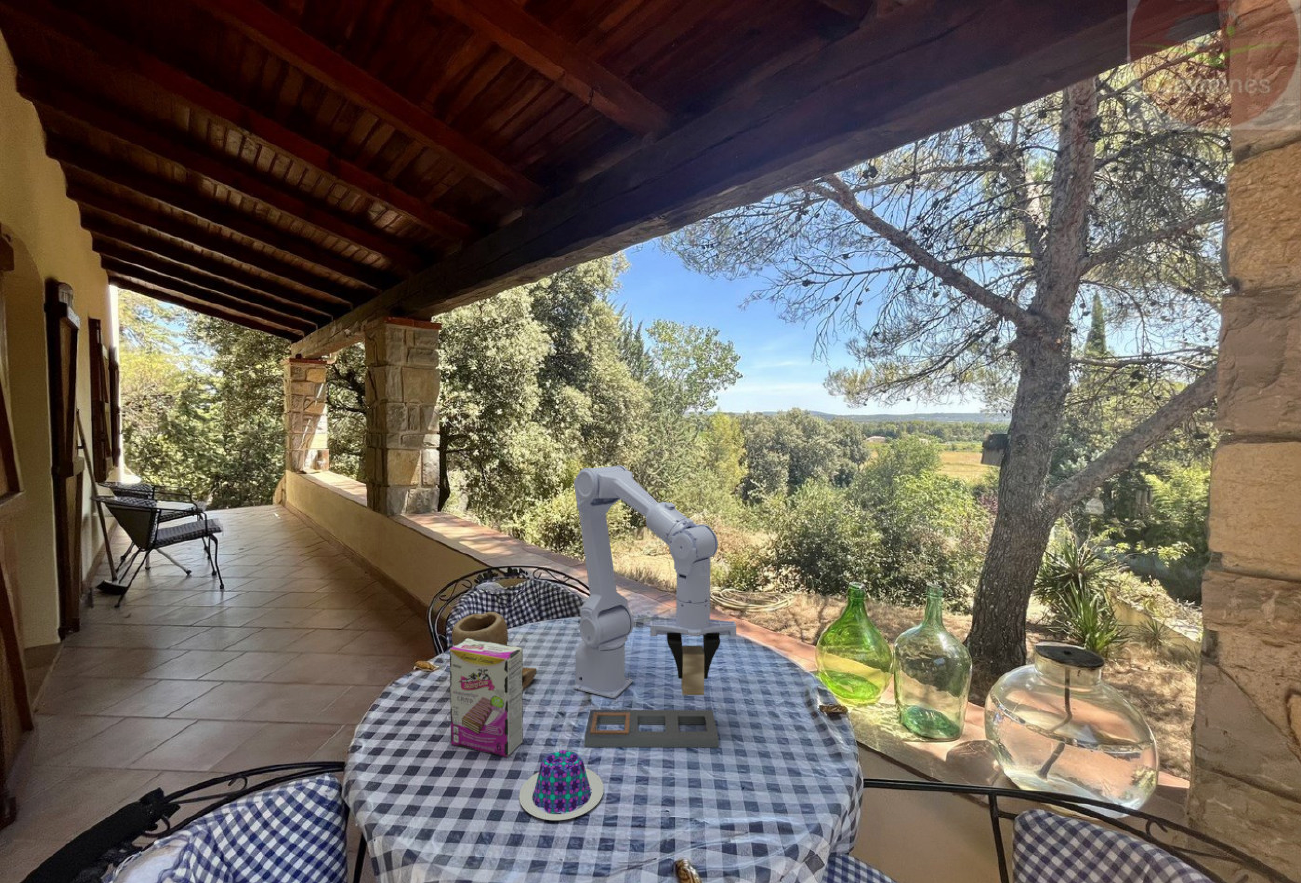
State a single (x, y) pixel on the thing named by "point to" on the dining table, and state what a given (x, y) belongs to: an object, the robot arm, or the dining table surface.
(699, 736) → the gray peg hole board
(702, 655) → the birch peg
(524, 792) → the pudding
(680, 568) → the robot arm
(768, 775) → the dining table surface
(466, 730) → the candy bar box
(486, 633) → the stone cup
